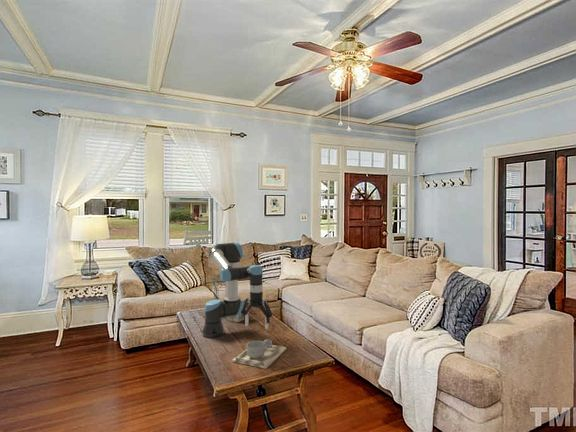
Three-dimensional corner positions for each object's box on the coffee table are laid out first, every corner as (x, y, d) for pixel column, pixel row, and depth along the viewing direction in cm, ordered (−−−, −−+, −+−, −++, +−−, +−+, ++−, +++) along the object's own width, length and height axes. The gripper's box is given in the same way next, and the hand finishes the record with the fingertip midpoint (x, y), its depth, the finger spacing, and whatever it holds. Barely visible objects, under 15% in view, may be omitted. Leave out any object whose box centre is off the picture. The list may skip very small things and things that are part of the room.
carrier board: (232, 361, 193) (232, 353, 193) (255, 343, 218) (255, 335, 218) (265, 368, 184) (265, 359, 184) (286, 349, 210) (286, 340, 209)
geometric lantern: (211, 313, 285) (211, 272, 285) (229, 311, 291) (229, 271, 291) (214, 318, 271) (214, 275, 271) (233, 316, 277) (233, 274, 277)
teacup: (250, 362, 189) (250, 348, 189) (244, 355, 199) (243, 341, 199) (272, 357, 195) (272, 344, 195) (265, 350, 205) (265, 337, 205)
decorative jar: (247, 318, 269) (247, 296, 269) (238, 322, 259) (237, 300, 259) (236, 316, 276) (236, 294, 275) (226, 320, 266) (226, 298, 265)
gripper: (235, 291, 198) (235, 326, 199) (272, 295, 188) (272, 331, 189) (241, 288, 205) (242, 322, 206) (277, 291, 195) (278, 327, 196)
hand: (256, 326), depth 197 cm, fingers open, 13 cm apart
